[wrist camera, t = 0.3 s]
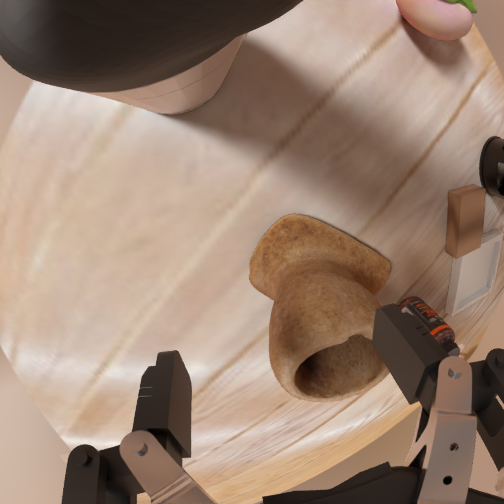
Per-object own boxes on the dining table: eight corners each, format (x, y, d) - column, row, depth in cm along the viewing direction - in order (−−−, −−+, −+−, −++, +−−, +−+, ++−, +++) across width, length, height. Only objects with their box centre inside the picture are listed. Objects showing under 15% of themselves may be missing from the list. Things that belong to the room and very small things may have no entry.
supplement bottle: (427, 296, 37) (473, 340, 27) (410, 328, 40) (449, 375, 29) (401, 293, 36) (450, 343, 26) (383, 328, 38) (424, 381, 28)
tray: (454, 247, 35) (462, 253, 33) (495, 228, 35) (503, 232, 33) (444, 310, 40) (451, 317, 38) (485, 286, 41) (492, 291, 39)
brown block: (448, 191, 31) (461, 196, 28) (473, 184, 31) (485, 189, 29) (445, 251, 35) (456, 259, 32) (469, 240, 35) (480, 247, 33)
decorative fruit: (393, 47, 22) (457, 33, 13) (366, -14, 19) (420, -45, 10) (444, 45, 22) (503, 39, 13) (421, -10, 19) (475, -28, 10)
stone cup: (224, 291, 31) (245, 406, 18) (281, 194, 28) (357, 263, 14) (329, 330, 36) (380, 419, 23) (383, 255, 33) (464, 327, 19)
